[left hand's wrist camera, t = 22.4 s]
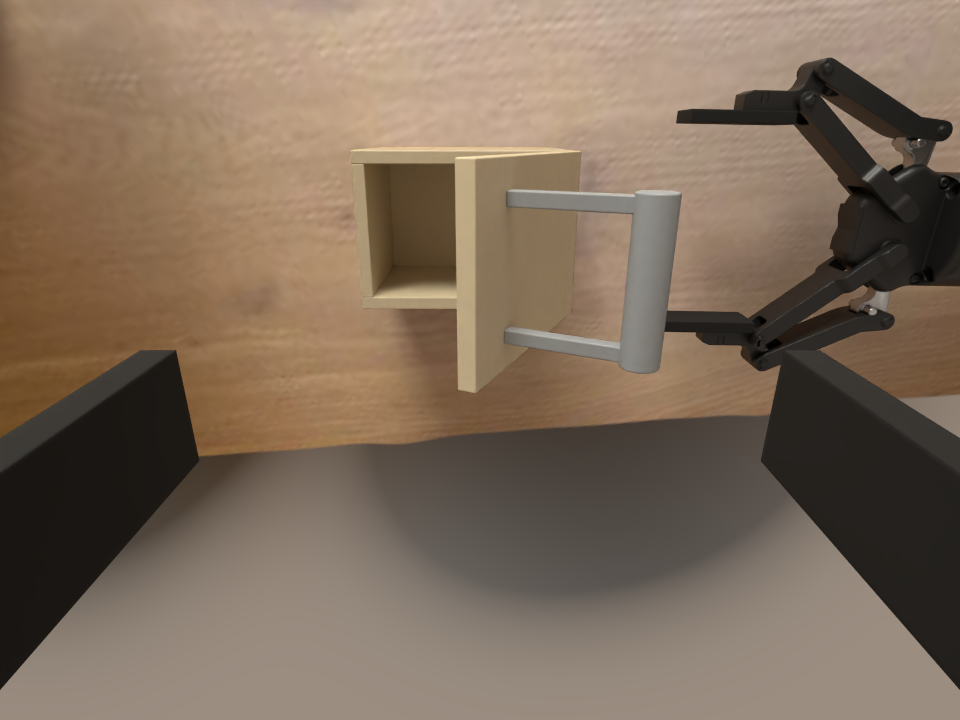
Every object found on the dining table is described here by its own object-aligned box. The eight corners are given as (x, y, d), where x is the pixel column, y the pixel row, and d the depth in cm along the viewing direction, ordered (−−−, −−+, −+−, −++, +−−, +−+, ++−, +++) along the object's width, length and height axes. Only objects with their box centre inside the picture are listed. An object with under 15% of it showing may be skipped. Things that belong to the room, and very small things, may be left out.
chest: (387, 273, 46) (362, 309, 37) (379, 147, 43) (349, 150, 33) (546, 273, 46) (563, 309, 37) (551, 147, 43) (572, 150, 33)
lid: (457, 390, 25) (640, 428, 22) (453, 157, 21) (672, 161, 18) (557, 310, 36) (687, 327, 33) (566, 150, 33) (712, 152, 29)
